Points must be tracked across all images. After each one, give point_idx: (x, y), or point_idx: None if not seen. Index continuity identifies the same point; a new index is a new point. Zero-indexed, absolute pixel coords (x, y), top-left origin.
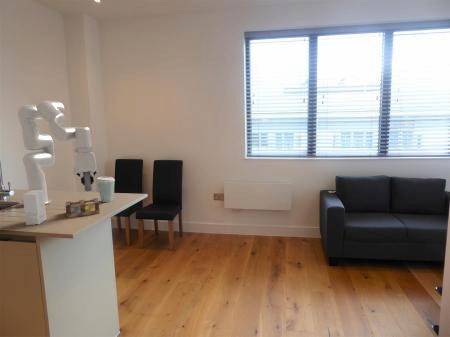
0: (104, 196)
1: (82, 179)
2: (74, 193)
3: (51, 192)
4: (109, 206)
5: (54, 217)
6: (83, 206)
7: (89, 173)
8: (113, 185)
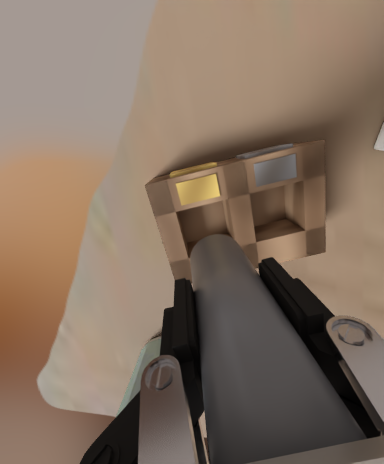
0: None
1: (306, 295)
2: None
3: None
4: (135, 276)
5: (340, 171)
6: (227, 163)
7: (218, 420)
8: None
